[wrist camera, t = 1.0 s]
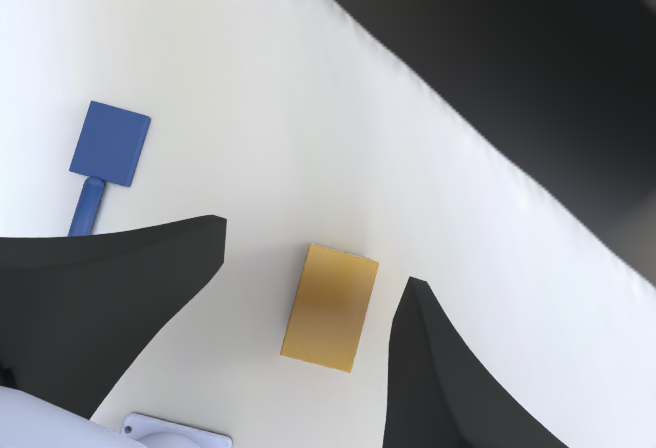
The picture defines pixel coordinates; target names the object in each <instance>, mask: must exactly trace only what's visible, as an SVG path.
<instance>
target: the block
mask: <svg viewBox="0 0 656 448" xmlns="http://www.w3.org/2000/svg"><path fill="white" fill-rule="evenodd" d="M378 265H379V263H378V262H376V261H373V260H371V259H368V258H365V257H362V256H358V255H354V254H351V253H347V252H343V251H339V250H336V249H332V248H328V247H325V246H321V245H317V244H313V243H311V244H310V245H309V249H308V253H307V256H306V260H305V264H304V267H303V271H302V275H301V278H300V282H299V286H298V290H297V293H296V297H295V301H294V304H293V308H292V312H291V315H290V319H289V323H288V326H287V330H286V334H285V337H284V341H283V345H282V348H281V352H280V355H283V356H287V357H291V358H295V359H299V360H302V361H306V362H310V363H314V364H318V365H322V366H326V367H329V368H333V369H337V370H341V371H345V372H349V373H350V372H351V369H352V366H353V362H354V358H355V354H356V350H357V346H358V342H359V338H360V335H361V331H362V327H363V323H364V319H365V315H366V311H367V308H368V304H369V300H370V296H371V292H372V288H373V284H374V281H375V277H376V273H377V269H378Z"/></svg>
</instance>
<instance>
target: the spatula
mask: <svg viewBox="0 0 656 448" xmlns="http://www.w3.org/2000/svg"><path fill="white" fill-rule="evenodd" d="M149 122H150V118H149V117H148V116H145V115H142V114H138V113H135V112H131V111H127V110H124V109H120V108H116V107H113V106H109V105H106V104H102V103H98V102H95V101H91V103H90V106H89V109H88V112H87V115H86V118H85V122H84V125H83V128H82V131H81V134H80V137H79V140H78V143H77V147H76V150H75V153H74V156H73V159H72V162H71V165H70V169H69V171H71V172H75V173H79V174H82V175H86V176H90V177H89V178H87V179H86V180H85V182H84V185H83V188H82V191H81V195H80V198H79V201H78V204H77V207H76V210H75V214H74V217H73V220H72V223H71V226H70V229H69V233H68V236H67V237H70V236H88V235H89V233H90V230H91V227H92V224H93V220H94V217H95V214H96V211H97V208H98V204H99V201H100V198H101V195H102V191H103V188H104V182H103V181H102V180H105V181H108V182H112V183H116V184H120V185H123V186H127V187H130V184H131V181H132V178H133V174H134V171H135V168H136V165H137V161H138V158H139V155H140V152H141V148H142V145H143V142H144V139H145V135H146V132H147V129H148V125H149Z"/></svg>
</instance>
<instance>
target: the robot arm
mask: <svg viewBox="0 0 656 448" xmlns="http://www.w3.org/2000/svg"><path fill="white" fill-rule="evenodd" d="M226 223H227V219H225V218H222V217H218V216H215V215H206V216H200V217H195V218H190V219H185V220H180V221H176V222H171V223H167V224H162V225H157V226H152V227H146V228H141V229H135V230H130V231H123V232H116V233H108V234H99V235H88V236H70V237H50V238H9V237H0V448H231V445H232V441H231V439H230V438H229V437H227V436H223V435H219V434H215V433H211V432H207V431H203V430H199V429H195V428H191V427H187V426H183V425H179V424H175V423H171V422H167V421H163V420H159V419H155V418H151V417H147V416H143V415H139V414H135V413H131V414H129V415H128V416H127V417H126V418H125V419H124V421H123V424H122V428H121V431H120V434H119V433H117V432H115V431H112V430H110V429H108V428H105V427H103V426H101V425H99V424H96V423H94V422H92V421H89V420H90V418H91V417H92V415H93V414H94V412H95V411H96V410H97V408H98V407H99V406H100V404H101V403H102V402H103V400H104V399H105V398H106V396H107V395H108V394H109V392H110V391H111V390H112V388H113V387H114V386H115V384H116V383H117V382H118V380H119V379H120V378H121V376H122V375H123V374H124V373H125V371H126V370H127V369H128V368H129V366H130V365H131V364H132V363H133V361H134V360H135V359H136V358H137V356H138V355H139V354H140V353H141V351H142V350H143V349H144V348H145V347H146V346H147V344H148V343H149V342H150V341H151V340H152V338H153V337H154V336H155V335H156V334H157V333H158V331H159V330H160V329H161V328H162V327H163V326H164V325H165V324H166V323H167V322H168V321H169V320H170V319H171V318H172V317H173V316H174V315H175V314H176V313H177V312H179V311H180V310H181V309H182V308H183V307H184V306H185V305H186V304H187V303H188V302H189V301H190V300H191V299H192V298H193V297H194V296H195V295H196V294H197V293H198V292H199V291H200V290H201V289H202V288H203V287H204V286H205V285H206V284H207V283H208V282H209V281H210V280H211V279H212V278H213V276H214V275H215V274H216V273H217V271H218V270H219V269H220V267H221V266H222V264H223V263H224V251H225V237H226ZM127 426H130V427H131V429H132V430H129V429H128V428H127ZM382 448H569V447H567V446H566V445H565V444H564V443H562V442H561V441H560V440H559V439H558V438H556V437H555V436H554V435H553V434H552V433H551V432H550V431H548V430H547V429H546V428H545V427H544V426H543V425H542V424H541V423H540V422H538V421H537V420H536V419H535V418H534V417H533V416H532V415H531V414H530V413H528V412H527V411H526V410H525V409H524V408H523V407H522V406H521V405H520V404H519V403H518V402H517V401H516V400H515V399H514V398H513V397H512V396H511V395H510V394H509V393H508V392H507V391H506V390H505V389H504V388H503V387H502V386H501V385H500V384H499V383H498V382H497V380H496V379H495V378H494V377H493V376H492V375H491V374H490V373H489V372H488V371H487V369H486V368H485V367H484V366H483V365H482V363H481V362H480V361H479V360H478V359H477V357H476V356H475V355H474V354H473V353H472V351H471V350H470V349H469V347H468V346H467V345H466V343H465V342H464V341H463V339H462V338H461V336H460V335H459V334H458V332H457V331H456V329H455V328H454V326H453V325H452V323H451V322H450V320H449V319H448V317H447V315H446V314H445V312H444V310H443V309H442V307H441V305H440V304H439V302H438V300H437V299H436V297H435V295H434V293H433V292H432V290H431V288H430V286H429V285H428V283H427V282H426V281H423V280H420V279H417V278H413V277H409V280H408V282H407V285H406V287H405V290H404V292H403V295H402V297H401V300H400V303H399V305H398V308H397V310H396V313H395V315H394V318H393V322H392V328H391V334H390V341H389V357H388V393H387V414H386V423H385V431H384V439H383V447H382Z"/></svg>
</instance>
